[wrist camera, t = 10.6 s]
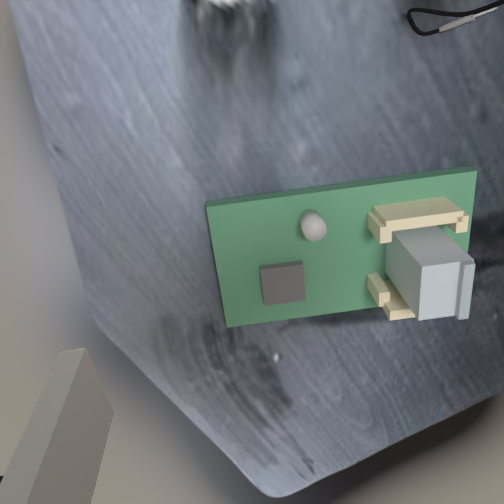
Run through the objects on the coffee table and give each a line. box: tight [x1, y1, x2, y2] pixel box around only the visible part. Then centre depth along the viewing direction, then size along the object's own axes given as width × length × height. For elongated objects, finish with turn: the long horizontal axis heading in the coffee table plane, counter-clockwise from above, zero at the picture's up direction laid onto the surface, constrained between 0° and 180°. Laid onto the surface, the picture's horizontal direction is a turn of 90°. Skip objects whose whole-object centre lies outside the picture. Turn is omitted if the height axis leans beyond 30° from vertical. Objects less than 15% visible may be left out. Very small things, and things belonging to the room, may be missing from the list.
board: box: [206, 166, 477, 328], centre depth 41 cm, size 13×24×6 cm, turn 97°
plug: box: [385, 225, 475, 320], centre depth 39 cm, size 5×4×9 cm
